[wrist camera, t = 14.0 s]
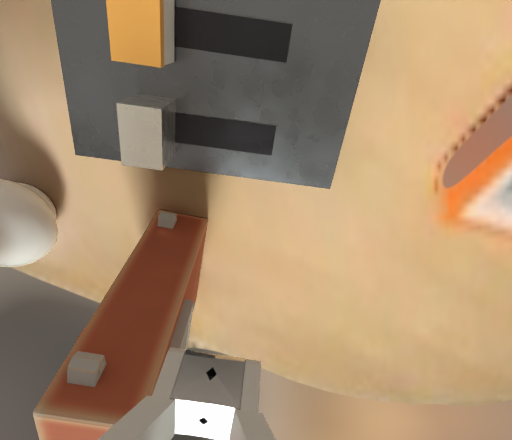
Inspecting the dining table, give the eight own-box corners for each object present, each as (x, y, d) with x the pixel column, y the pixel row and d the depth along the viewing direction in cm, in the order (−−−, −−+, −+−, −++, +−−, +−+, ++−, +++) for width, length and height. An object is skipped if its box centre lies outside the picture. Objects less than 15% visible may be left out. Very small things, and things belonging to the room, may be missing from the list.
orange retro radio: (147, 300, 41) (152, 196, 34) (201, 309, 42) (218, 210, 34) (47, 518, 23) (10, 396, 15) (147, 530, 23) (158, 418, 16)
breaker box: (366, 1, 25) (402, -11, 18) (323, 171, 32) (337, 209, 25) (74, -44, 24) (-2, -74, 17) (97, 141, 31) (49, 171, 24)
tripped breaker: (175, -13, 21) (159, -20, 18) (175, 63, 23) (160, 67, 20) (127, -20, 21) (103, -29, 18) (132, 56, 23) (111, 60, 20)
